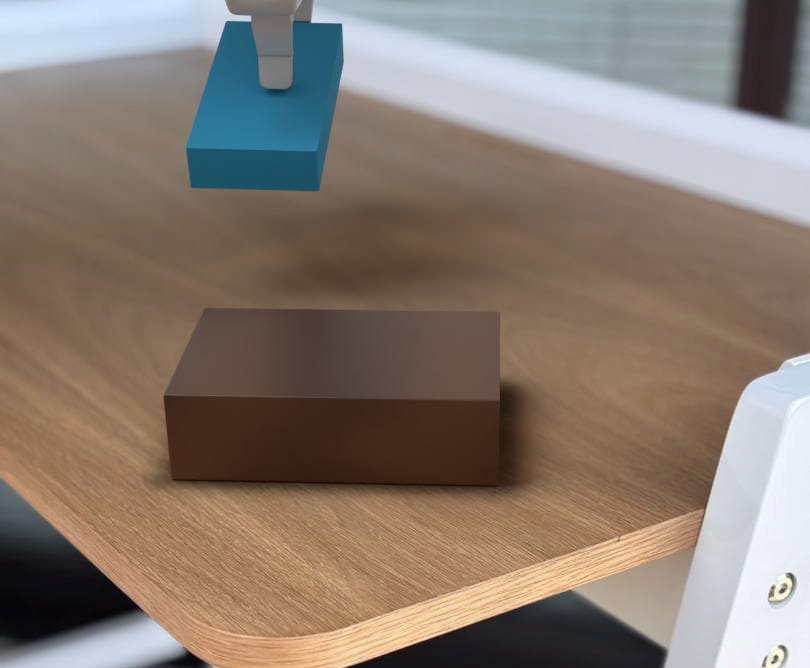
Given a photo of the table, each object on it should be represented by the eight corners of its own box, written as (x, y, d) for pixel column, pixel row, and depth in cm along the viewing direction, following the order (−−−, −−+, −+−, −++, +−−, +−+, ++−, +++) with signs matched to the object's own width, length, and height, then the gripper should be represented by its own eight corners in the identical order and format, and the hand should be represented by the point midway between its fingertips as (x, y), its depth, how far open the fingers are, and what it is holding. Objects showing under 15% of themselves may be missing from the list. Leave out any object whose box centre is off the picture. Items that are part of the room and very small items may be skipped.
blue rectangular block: (323, 264, 83) (351, 101, 95) (316, 151, 78) (348, -5, 90) (199, 260, 83) (244, 98, 96) (185, 148, 78) (235, -8, 91)
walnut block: (170, 479, 64) (162, 394, 62) (210, 384, 73) (204, 307, 71) (497, 486, 64) (499, 400, 62) (497, 389, 72) (500, 311, 70)
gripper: (247, -213, 88) (257, 31, 95) (184, -186, 70) (202, 111, 77) (355, -212, 88) (356, 33, 95) (318, -184, 70) (324, 114, 77)
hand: (287, 69), depth 86 cm, fingers closed on blue rectangular block, 7 cm apart
